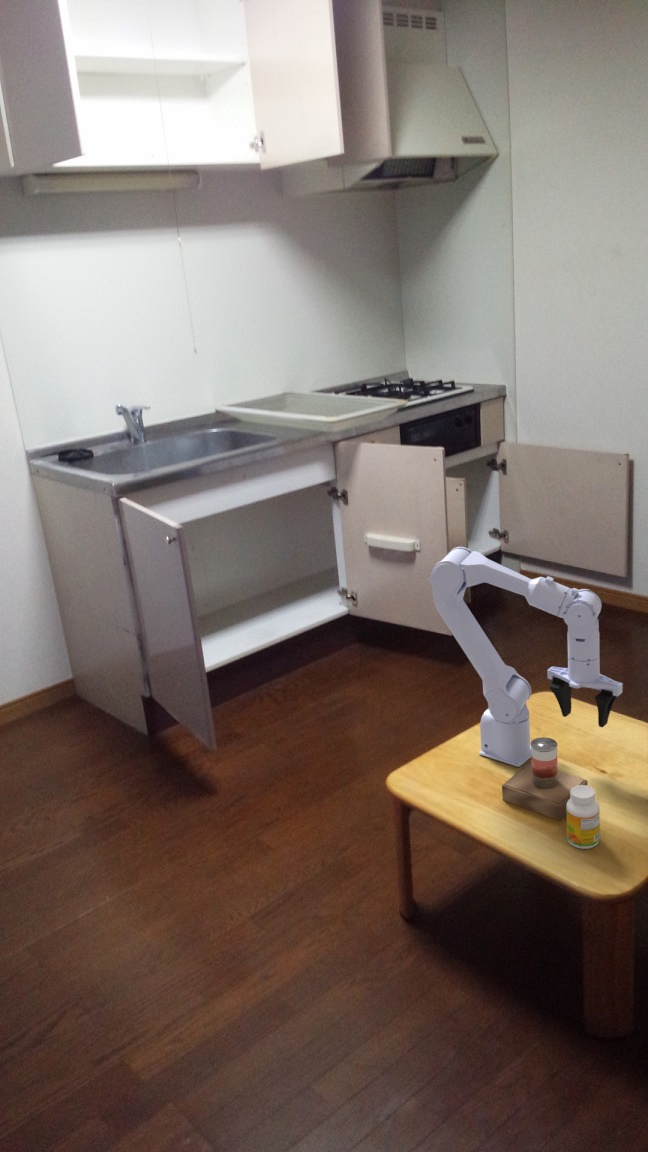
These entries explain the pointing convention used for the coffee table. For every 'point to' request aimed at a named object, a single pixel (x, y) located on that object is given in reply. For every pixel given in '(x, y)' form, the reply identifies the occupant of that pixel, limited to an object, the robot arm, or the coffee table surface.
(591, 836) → the supplement bottle
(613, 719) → the coffee table surface
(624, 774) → the coffee table surface
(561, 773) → the brown rectangular block
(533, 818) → the coffee table surface
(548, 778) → the tin can
